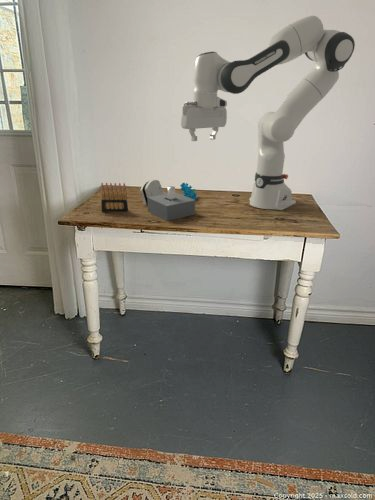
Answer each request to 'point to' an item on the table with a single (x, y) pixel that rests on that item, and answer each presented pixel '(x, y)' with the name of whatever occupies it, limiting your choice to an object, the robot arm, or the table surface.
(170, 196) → the steel pin
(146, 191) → the hinge
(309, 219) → the table surface
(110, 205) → the ammunition clip
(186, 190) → the gear
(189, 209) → the pin block
